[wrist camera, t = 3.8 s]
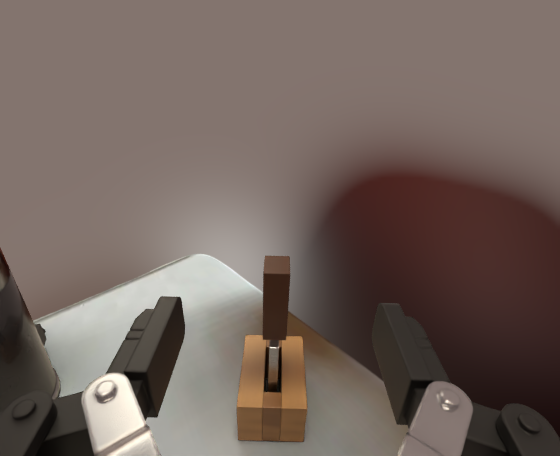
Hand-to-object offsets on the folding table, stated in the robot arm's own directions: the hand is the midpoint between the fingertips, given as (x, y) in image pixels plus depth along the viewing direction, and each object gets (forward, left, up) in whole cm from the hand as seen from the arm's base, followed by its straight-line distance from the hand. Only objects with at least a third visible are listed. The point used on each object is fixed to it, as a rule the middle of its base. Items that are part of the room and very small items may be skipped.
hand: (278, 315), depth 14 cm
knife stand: (-11, +4, -22) cm, 25 cm away
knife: (-11, +4, -22) cm, 25 cm away
